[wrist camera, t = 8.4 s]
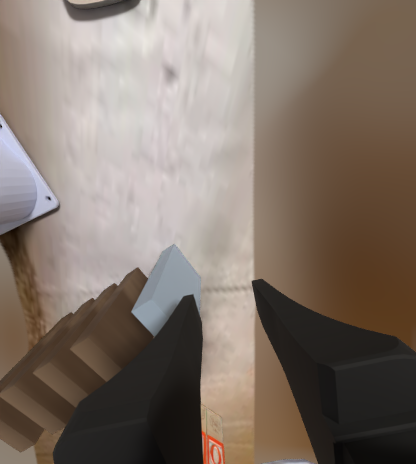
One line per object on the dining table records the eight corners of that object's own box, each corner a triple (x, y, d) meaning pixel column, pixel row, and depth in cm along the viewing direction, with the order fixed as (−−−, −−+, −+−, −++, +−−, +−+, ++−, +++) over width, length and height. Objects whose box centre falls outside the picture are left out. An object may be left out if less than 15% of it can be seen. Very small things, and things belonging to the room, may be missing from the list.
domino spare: (189, 284, 23) (179, 363, 13) (162, 251, 22) (131, 311, 12) (200, 277, 23) (199, 352, 13) (174, 243, 22) (151, 298, 12)
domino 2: (111, 332, 25) (52, 434, 15) (82, 304, 23) (-2, 395, 14) (121, 326, 24) (67, 425, 15) (92, 297, 23) (14, 385, 14)
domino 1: (90, 345, 25) (20, 452, 15) (61, 318, 24) (-35, 415, 14) (100, 339, 25) (35, 444, 15) (71, 312, 24) (-20, 406, 14)
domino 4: (154, 305, 24) (121, 395, 14) (126, 274, 22) (69, 349, 13) (165, 298, 23) (138, 384, 14) (137, 267, 22) (88, 337, 13)
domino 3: (132, 319, 24) (85, 415, 14) (104, 289, 23) (32, 372, 13) (142, 313, 24) (102, 406, 14) (114, 282, 23) (49, 361, 13)
